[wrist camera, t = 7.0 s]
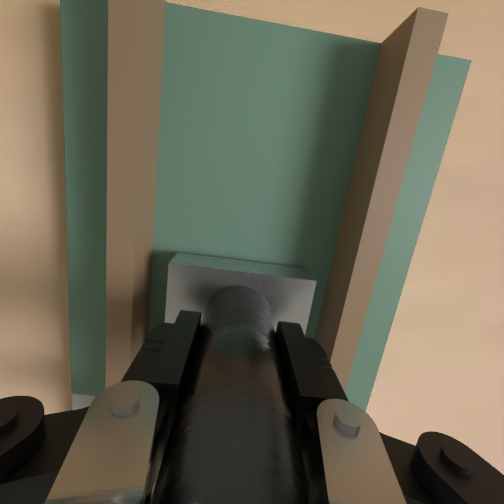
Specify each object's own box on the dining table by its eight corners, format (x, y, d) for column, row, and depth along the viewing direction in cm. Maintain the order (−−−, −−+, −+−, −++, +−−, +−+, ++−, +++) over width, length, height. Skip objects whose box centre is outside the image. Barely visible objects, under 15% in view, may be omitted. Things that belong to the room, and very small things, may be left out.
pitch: (83, 7, 11) (-625, -760, 2) (444, 74, 12) (1027, -230, 3) (88, 441, 17) (-93, 749, 8) (335, 460, 18) (431, 748, 9)
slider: (166, 250, 12) (-190, 586, 2) (317, 269, 13) (611, 615, 3) (158, 384, 14) (-58, 910, 4) (290, 396, 14) (402, 890, 4)
